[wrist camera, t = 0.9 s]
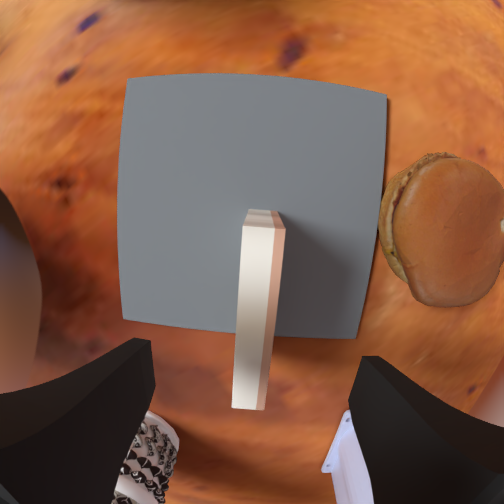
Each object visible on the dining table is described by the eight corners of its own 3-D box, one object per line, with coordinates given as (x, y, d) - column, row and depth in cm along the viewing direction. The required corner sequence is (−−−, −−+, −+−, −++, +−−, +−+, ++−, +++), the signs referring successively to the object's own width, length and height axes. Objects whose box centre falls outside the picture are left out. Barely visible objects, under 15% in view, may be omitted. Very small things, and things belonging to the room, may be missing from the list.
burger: (347, 213, 17) (376, 225, 13) (441, 129, 16) (483, 121, 11) (418, 318, 19) (450, 350, 15) (496, 239, 17) (535, 253, 13)
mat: (353, 335, 19) (355, 338, 19) (125, 316, 19) (123, 318, 19) (384, 96, 15) (386, 94, 15) (130, 80, 15) (127, 78, 15)
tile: (263, 348, 19) (263, 409, 13) (239, 346, 19) (231, 407, 13) (277, 211, 17) (285, 229, 11) (249, 208, 17) (242, 226, 11)
